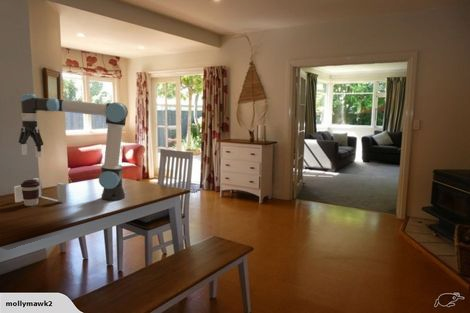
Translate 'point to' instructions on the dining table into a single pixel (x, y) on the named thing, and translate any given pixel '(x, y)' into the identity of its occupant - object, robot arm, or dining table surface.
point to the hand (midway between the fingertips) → (31, 155)
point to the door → (20, 196)
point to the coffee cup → (30, 192)
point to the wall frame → (60, 192)
